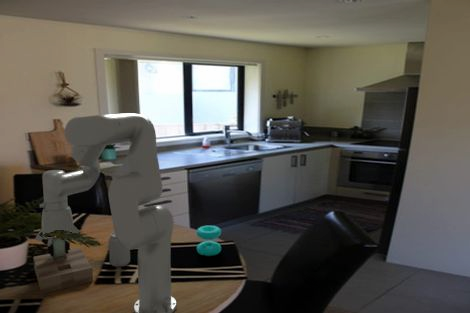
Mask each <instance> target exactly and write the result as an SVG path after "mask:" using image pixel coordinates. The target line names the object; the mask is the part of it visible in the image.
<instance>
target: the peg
mask: <svg viewBox="0 0 470 313" xmlns="http://www.w3.org/2000/svg"><path fill="white" fill-rule="evenodd" d="M51 243H52V246H53V259H55V260H58V259H63V258H65V257H66V246H65V241H63V240H61V239H54V238H53V239H52V242H51Z"/></svg>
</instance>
